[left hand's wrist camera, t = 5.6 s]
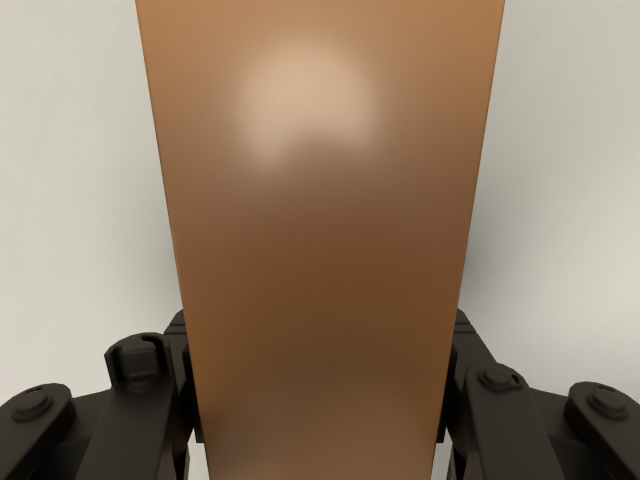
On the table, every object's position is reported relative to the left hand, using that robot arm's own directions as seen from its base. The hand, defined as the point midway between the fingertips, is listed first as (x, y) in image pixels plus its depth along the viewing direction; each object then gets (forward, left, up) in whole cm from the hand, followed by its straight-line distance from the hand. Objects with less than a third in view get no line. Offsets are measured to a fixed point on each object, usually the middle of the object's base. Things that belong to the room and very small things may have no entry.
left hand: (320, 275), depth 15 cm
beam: (+23, -5, -1) cm, 23 cm away
